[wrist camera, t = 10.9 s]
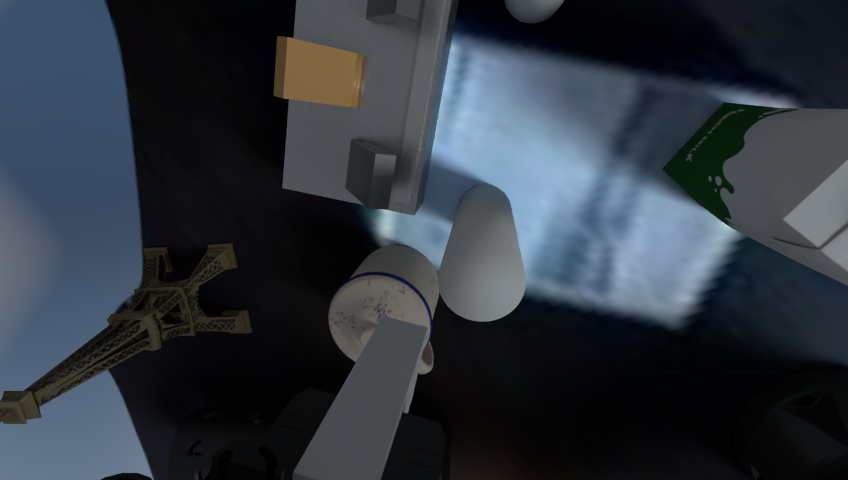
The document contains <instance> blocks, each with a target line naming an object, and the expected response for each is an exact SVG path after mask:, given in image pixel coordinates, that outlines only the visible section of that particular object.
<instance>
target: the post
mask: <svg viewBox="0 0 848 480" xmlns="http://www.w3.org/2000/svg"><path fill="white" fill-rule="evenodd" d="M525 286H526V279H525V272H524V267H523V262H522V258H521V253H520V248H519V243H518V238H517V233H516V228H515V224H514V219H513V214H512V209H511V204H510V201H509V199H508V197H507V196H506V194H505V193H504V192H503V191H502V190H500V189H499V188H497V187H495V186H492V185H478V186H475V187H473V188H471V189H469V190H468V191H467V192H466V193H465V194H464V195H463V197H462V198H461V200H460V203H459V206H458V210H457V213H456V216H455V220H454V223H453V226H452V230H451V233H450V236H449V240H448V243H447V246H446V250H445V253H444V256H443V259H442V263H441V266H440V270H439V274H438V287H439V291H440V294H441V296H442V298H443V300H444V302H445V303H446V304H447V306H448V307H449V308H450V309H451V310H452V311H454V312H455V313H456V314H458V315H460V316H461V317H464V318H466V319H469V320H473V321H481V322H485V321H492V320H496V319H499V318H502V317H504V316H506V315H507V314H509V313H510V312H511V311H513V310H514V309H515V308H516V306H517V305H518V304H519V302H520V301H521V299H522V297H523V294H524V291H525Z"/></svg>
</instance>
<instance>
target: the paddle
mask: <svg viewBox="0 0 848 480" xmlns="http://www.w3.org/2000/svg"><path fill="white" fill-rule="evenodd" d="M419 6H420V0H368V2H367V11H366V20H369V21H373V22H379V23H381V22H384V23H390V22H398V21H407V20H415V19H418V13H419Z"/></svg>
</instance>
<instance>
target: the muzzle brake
mask: <svg viewBox="0 0 848 480" xmlns="http://www.w3.org/2000/svg"><path fill="white" fill-rule="evenodd" d="M283 410H284V409H242V408H200V409H197V410H196V411H194V412H192V413H191V414H190V415H189V416H188V417H187V418H186V419H185V421H184V422H183V423H182V425H181V426H180V428H179V430H178V431H177V433H176V435H175V437H174V440H173V443H172V445H171V449H170V453H169V459H168V476H169V480H203V479H202V475H201V470H202V469H211V464H212V455H213V454H215V453H216V452H217V451H218V450H219V449H221V448H222V447H223V446H225V445H227V444H230V443H232V442H234V441H237V440H243V439H250V438H253V439H260V440H262V439H263V438H264V437H265V435H266V434H267V432H268V431H269V430H270V428H271V427H272V426H273V425H274V423H275V421H276V420H277V419H278V417H279V416H280V414H281V415H282V412H283ZM408 414H411V415H415V416H418V417H422V418H426V419H429V420H433V421H436V422H440V423H441V426H442V429H443V432H444V435H445V438H446V442H445V449H444V455H443V461H442V467H441V474H440V480H450V434H449V425H448V421H447V419H446V418H436V417H433V416H432V414H431V413H430V412H428V411H426V410H411V409H409V411H408ZM213 422H214V423H213ZM201 442H202V443H203V444H204V447H205V451H204V452H203V453H202V454H201V453H198V452H195V453H193V449H194V448H195V447H196V446H197V445H199V444H200V443H201ZM210 479H211V470H210V472H209V474H208V475H207V477H206V478H205V479H204V480H210Z"/></svg>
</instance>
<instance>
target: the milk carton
mask: <svg viewBox="0 0 848 480" xmlns="http://www.w3.org/2000/svg"><path fill="white" fill-rule="evenodd" d="M663 170H664V171H665V172H666V173H667V174H668V175H669V176H670V177H672V178H673V179H674V180H675V181H676V182H677V183H678V184H679V185H680V186H681V187H682V188H683V189H684V190H685V191H686V192H687V193H688V194H689V195H690V196H691V197H692V198H693V199H695V200H696V201H697V202H698V203H699V204H700V205H701V206H703V207H704V208H705V209H707V210H708V211H709V212H710V213H712V214H713V215H714V216H716V217H717V218H718V219H719V220H721V221H722V222H724V223H725V224H727V225H728V226H730V227H731V228H733V229H735V230H737V231H739V232H741V233H743V234H744V235H746V236H748V237H750V238H752V239H754V240H756V241H758V242H760V243H762V244H764V245H766V246H768V247H770V248H772V249H774V250H775V251H777V252H779V253H781V254H783V255H785V256H787V257H789V258H791V259H793V260H795V261H797V262H799V263H801V264H804V265H806V266H808V267H810V268H812V269H814V270H816V271H818V272H821V273H823V274H825V275H827V276H829V277H831V278H833V279H835V280H838V281H840V282H842V283H844V284H846V285H848V109H798V108H773V107H764V106H754V105H744V104H734V103H723V104H722V105H721V107H720V108H719V109H718V110H717V111H716V112H715V113H714V114H713V115H712V116H711V117H710V118H709V119H708V120H707V122H706V123H705V124H704V125H703V126H702V127H701V128H700V129H699V130H698V131H697V132H696V133H695V134H694V136H693V137H692V138H691V139H690V140H689V141H688V142H687V143H686V144H685V145H684V146H683V147H682V148H681V149H680V151H679V152H678V153H677V154H676V155H675V156H674V157H673V158H672V159H671V160H670V161H669V162H668V163H667V164H666V166H665V167H664V168H663Z"/></svg>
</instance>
